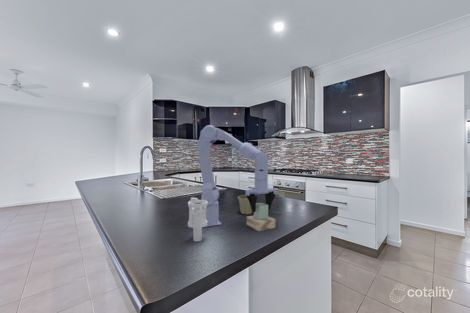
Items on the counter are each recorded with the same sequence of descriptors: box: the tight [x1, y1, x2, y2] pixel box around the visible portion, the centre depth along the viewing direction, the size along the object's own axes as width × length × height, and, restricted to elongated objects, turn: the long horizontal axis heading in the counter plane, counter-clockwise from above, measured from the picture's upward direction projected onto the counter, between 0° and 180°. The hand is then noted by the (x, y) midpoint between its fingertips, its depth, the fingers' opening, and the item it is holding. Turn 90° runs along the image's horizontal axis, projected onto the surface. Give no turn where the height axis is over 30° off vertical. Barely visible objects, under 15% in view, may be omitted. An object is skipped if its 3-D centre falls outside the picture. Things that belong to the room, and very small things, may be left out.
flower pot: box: [237, 194, 253, 215], centre depth 108 cm, size 9×9×9 cm
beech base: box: [246, 215, 277, 232], centre depth 88 cm, size 9×9×4 cm
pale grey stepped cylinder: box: [187, 197, 208, 242], centre depth 73 cm, size 7×7×15 cm
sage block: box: [253, 202, 269, 220], centre depth 88 cm, size 4×4×6 cm
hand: (260, 210), depth 88 cm, fingers open, 7 cm apart
